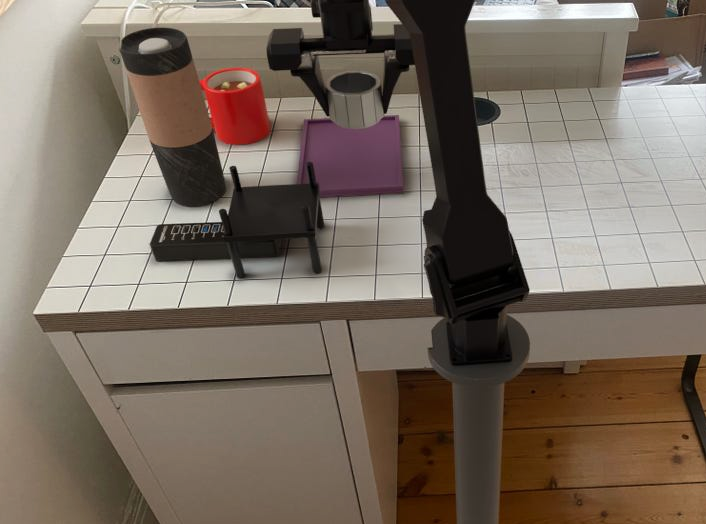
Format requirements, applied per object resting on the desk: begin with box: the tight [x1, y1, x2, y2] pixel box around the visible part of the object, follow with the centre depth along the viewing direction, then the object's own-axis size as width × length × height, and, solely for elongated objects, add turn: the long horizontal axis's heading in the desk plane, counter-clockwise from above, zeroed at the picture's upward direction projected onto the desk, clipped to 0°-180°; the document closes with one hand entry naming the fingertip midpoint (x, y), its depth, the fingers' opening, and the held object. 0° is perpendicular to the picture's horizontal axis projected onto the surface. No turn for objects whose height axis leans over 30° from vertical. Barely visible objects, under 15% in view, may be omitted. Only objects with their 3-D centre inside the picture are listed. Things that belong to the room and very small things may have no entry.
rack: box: [218, 162, 325, 279], centre depth 87 cm, size 10×10×9 cm
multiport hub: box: [149, 221, 282, 262], centre depth 90 cm, size 4×14×2 cm, turn 94°
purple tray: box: [295, 114, 404, 199], centre depth 105 cm, size 20×14×1 cm
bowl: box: [324, 70, 385, 129], centre depth 94 cm, size 7×7×5 cm
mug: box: [199, 67, 272, 146], centre depth 108 cm, size 8×12×8 cm, turn 90°
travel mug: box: [118, 26, 227, 207], centre depth 92 cm, size 8×8×20 cm
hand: (357, 113), depth 95 cm, fingers closed on bowl, 7 cm apart
